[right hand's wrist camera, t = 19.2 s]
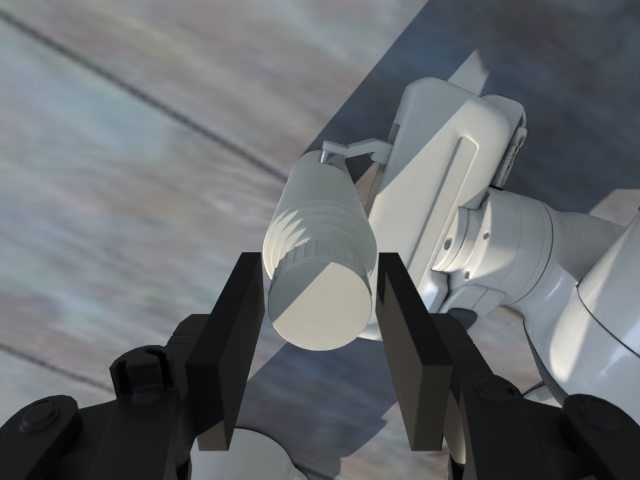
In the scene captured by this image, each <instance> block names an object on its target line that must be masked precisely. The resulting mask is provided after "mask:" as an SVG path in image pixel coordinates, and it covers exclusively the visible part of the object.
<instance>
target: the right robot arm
mask: <svg viewBox="0 0 640 480" xmlns="http://www.w3.org/2000/svg"><path fill="white" fill-rule="evenodd" d="M264 313H265V305H264V289H263V273H262V257H261V252H242V254H241V255H240V257H239V259H238V261H237V263H236V265H235V267H234V269H233V271H232V273H231V275H230V277H229V279H228V281H227V283H226V285H225V287H224V289H223V291H222V293H221V295H220V296H219V298H218V300H217V302H216V304H215V306H214V308H213V310H212V312H211V314H191V315H190V316H188V317H187V318H186V319H185V320H183V321H182V322H181V323H179V325H178V326H177V328H176V330H175V331H174V333H173V336H171V338H170V339H169V341H168V342H167V345H165V347H163V346H160V345H147V346H143V347H139V348H135V349H133V350H131V351H128V352H126V353H124V354H123V355H121V356H120V357H119V358H117V359H116V360H115V361H114V362H113V364H112V365H111V366H110V368H109V370H110V374H111V377H112V381H113V385H114V389H115V393H116V397H117V398H116V400H113V401H110V402H107V403H103V404H99V405H94V406H90V407H86V408H82V409H79V408H78V405H77V402H76V401H75V400H74V399H73V398H72V397H71V396H65V395H56V396H49V397H46V398H43V399H40V400H37V401H35V402H33V403H31V404H29V405H27V406H26V407H24V408H22V409H21V410H19V411H18V412H17V413H16V414H14V415H13V416H12V417H11V418H10V419H9V420H8V421H7V422H6V423H5V424H4V425H3V426H2V427H1V428H0V480H191V475H192V461H191V455H190V452H191V449H192V446H193V444H194V441H195V438H196V437H197V443H198V449H199V451H229V447H230V444H231V440H232V436H233V432H234V428H235V424H236V421H237V417H238V413H239V409H240V405H241V401H242V398H243V394H244V390H245V386H246V382H247V378H248V375H249V371H250V367H251V363H252V359H253V355H254V352H255V348H256V344H257V340H258V336H259V332H260V329H261V325H262V321H263V317H264ZM375 313H376V317H377V321H378V325H379V329H380V332H381V336H382V340H383V344H384V348H385V352H386V355H387V359H388V363H389V367H390V371H391V375H392V378H393V382H394V386H395V390H396V394H397V398H398V401H399V405H400V409H401V413H402V417H403V421H404V424H405V428H406V432H407V436H408V440H409V444H410V447H411V451H441V449H442V443H443V437H444V436H445V439H446V442H447V445H448V447H449V450H450V455H449V461H448V466H447V472H446V478H445V480H640V426H639V425H638V424H637V422H636V421H635V420H634V419H633V418H632V417H631V416H629V415H628V414H627V413H626V412H624V411H623V410H622V409H621V408H619V407H618V406H616V405H614V404H612V403H610V402H609V401H607V400H605V399H602V398H599V397H596V396H593V395H588V394H580V393H578V394H572V395H569V396H568V397H567V398H566V399H564V402H563V405H562V408H561V407H556V406H552V405H548V404H544V403H539V402H535V401H532V400H528V399H525V398H524V397H523V396H522V394H521V393H520V391H519V389H518V388H517V387H515V386H514V385H513V384H512V383H511V382H510V381H508V380H506V379H504V378H502V377H500V376H498V375H494V374H493V372H492V371H491V369H490V368H489V366H488V364H487V363H486V361H485V360H484V358H483V357H482V355H481V353H480V352H479V350H478V349H477V347H476V346H475V344H473V341H472V339H471V338H470V336H469V335H468V334H467V331H466V330H465V328H464V327H463V325H462V323H461V322H460V321H458V320H457V319H456V318H454V317H453V316H452V315H450V314H449V313H429V312H428V310H427V308H426V306H425V304H424V302H423V300H422V298H421V296H420V295H419V293H418V291H417V289H416V287H415V285H414V283H413V281H412V279H411V277H410V275H409V273H408V271H407V269H406V267H405V265H404V263H403V261H402V259H401V257H400V255H399V254H398V252H379V257H378V273H377V289H376V305H375Z"/></svg>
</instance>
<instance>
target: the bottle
mask: <svg viewBox="0 0 640 480" xmlns="http://www.w3.org/2000/svg"><path fill="white" fill-rule="evenodd" d="M320 153H321V150H315V151H311V152H308V153H306V154H304V155H303V156H302V157H300V158H299V159H298V161H297V162H296V163H295V165H294V167H293V169H292V171H291V174H290V176H289V179H288V181H287V184H286V186H285V189H284V191H283V194H282V196H281V199H280V201H279V204H278V206H277V209H276V211H275V214H274V216H273V219H272V221H271V224H270V226H269V229H268V231H267V234H266V236H265V240H264V245H263V258H264V264H265V267H266V270H267V272H268V274H269V276H270V278H271V279H272V277H273V273H274V270H275V268H277V266H278V263H279V260H280V259H282V258H283V257H284V256H285V253H286V252H289V251H290V250H292V249H293V248H294V247H295V246H299V245H301V244H303V243H304V242H305V243H307V242H312V241H314V240H316V241H325V240H327V241H329V242H333V243H335V242H336V243H337V244H339V245H341V246H344V247H345V246H346V247H347V249H349V250H350V251H351V252H352V253H353V252H354V253H355V256H356V257H357V258H358V259H359V260H361V262H362V266H363V268H365V269H366V273H367V276H368V280H369V278H370V276H371V275H372V273H373V270H374V268H375V264H376V260H377V244H376V239H375V236H374V233H373V231H372V228H371V226H370V223H369V221H368V218H367V216H366V213H365V211H364V208H363V206H362V203H361V201H360V198H359V196H358V193H357V191H356V188H355V186H354V183H353V181H352V178H351V176H350V173H349V171H348V168H347V166H346V164H345V163H344V165H343V168H342V169H341V168H337V167H335V166H333V165H332V164H323V163H321V162H319V157H320Z"/></svg>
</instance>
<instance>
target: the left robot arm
mask: <svg viewBox="0 0 640 480" xmlns="http://www.w3.org/2000/svg"><path fill="white" fill-rule="evenodd" d="M519 120H520V124H519V126H517V124H518V122H519ZM526 120H527V118H526V112H525V109H524V107H523V106H522V105H521V104H520V103H519V102H518V101H516V100H514V99H511V98H508V97H505V96H502V95H498V94H487V95H484V96H481V97H479V96H477V95H475V94H473V93H471V92H469V91H467V90H465V89H463V88H461V87H459V86H456V85H454V84H452V83H449V82H447V81H444V80H441V79H438V78H435V77H423V78H421V79H418V80H416V81H414V82H412V83H411V84H409V85H408V86H407V87H406V88H405V90H404V93H403V96H402V99H401V102H400V105H399V108H398V111H397V114H396V117H395V119H394V122H393V125H392V128H391V131H390V134H389V137H388V140H387V142H385V141H382V140H378V139H375V138H370V139H367V140H363V141H359V142H355V143H351V144H348V145H347V146H345V145H341V144H338V143H334V142H331V141H327V140H324V142H323V146H322V149H321V153H320V157H319V162H321V163H323V164H332V165H333V166H335V167H337V168H341V169H342V168H343V165H344V162H345V159H346V158H350V157H354V156H358V155H362V154H366V153H368V156H369V157H370V158H371V159H372V161H376V162H379V163H380V164H379V167H378V170H377V173H376V176H375V178H374V181H373V184H372V187H371V190H370V193H369V196H368V199H367V202H366V205H365V208H364V211H365V213H366V216H367V218H368V221H369V223H370V226H371V228H372V231H373V233H374V236H375V239H376V244H377V260H376V264H375V268H374V270H373V273H372V275H371V276H370V278H369V284H370V288H371V292H372V296H371V298H372V312H371V316H370V319H369V322H368V324H367V326H366V327H365V329H364V330H363V331H362V333H361V334H360V335H359V336H358V337H362V338H367V339H372V340H377V341H383V340H382V336H381V332H380V329H379V325H378V321H377V317H376V313H375V305H376V289H377V273H378V257H379V252H398V254H399V255H400V257H401V259H402V261H403V263H404V265H405V267H406V269H407V271H408V273H409V275H410V277H411V279H412V281H413V283H414V285H415V287H416V289H417V291H418V293H419V295H420V296H421V298H422V300H423V302H424V304H425V306H426V308H427V310H428V312H429V313H449V314H450V315H452V316H453V317H454V318H456V319H457V320H458V321H460V322H461V323H462V325H463V327H464V328H465V330H466V331H467V333H468V332H469V331H470V330H471V329H472V328H473V327H474V326H475V325H476V324H477V323H478V322H479V321H480V320H481V319H483V318H484V317H485V316H486V315H487V314H488V313H490V312H491V311H492V310H494V309H495V308H496V307H497V306H499V305H506V306H513V307H516V308H517V309H519V310H520V311H521V312H522V313H523V314H524V316H525V319H524V321H523V325H524V330H525V334H526V337H527V340H528V343H529V346H530V348H531V351H532V353H533V356H534V359H535V362H536V365H537V368H538V370H539V373H540V375H541V377H542V379H543V381H544V383H545V384H546V386H547V388H548V389H549V391H550V392H551V394H552V395H553V397H554V398H555V399H556V401H557V402H558V403H559V404H560V405H561V406H562V405H563V402H564V399H566V398H567V397H568V396H569V395H572V394H578V393H580V394H588V395H593V396H596V397H599V398H602V399H605V400H607V401H609V402H610V403H612V404H614V405H616V406H618V407H619V408H621V409H622V410H623V411H624V412H626V413H627V414H628V415H629V416H631V417H632V418H633V419H634V420H635V421H636V422H637V424H638V425H639V426H640V212H639V213H638V214H637V215H636V216H635V218H634V219H633V220H632V221H631V222H630V224H629V225H628V226H627V227H624V226H621V225H618V224H616V223H613V222H610V221H607V220H604V219H601V218H598V217H594V216H591V215H588V214H584V213H578V212H559V211H556V210H554V209H553V208H551V207H550V206H549V205H547V204H545V203H543V202H541V201H539V200H536V199H533V198H530V197H526V196H523V195H519V194H516V193H512V192H509V191H506V190H504V189H503V187H504V185H505V183H506V181H507V179H508V177H509V174H510V172H511V170H512V168H513V165H514V161H515V159H516V158H515V157H516V156H517V153H518V152H519V150H520V148H522V146H523V144H524V143H525V140H526V138H527V135H528V129H527V128H525V126H526ZM638 210H639V211H640V207H639V208H638ZM190 455H191V461H192V475H191V480H307V477H306V476H305V475H304V474H303V473H302V472H300V471H299V470H298V469H296V468H295V467H294V465H293V464H292V462H291V460H290V458H289V456H288V454H287V453H286V451H285V450H284V449H283V448H282V447H281V446H280V445H279V444H278V443H276V442H275V441H274V440H272V439H271V438H269V437H267V436H265V435H263V434H260V433H257V432H254V431H250V430H245V429H237V428H234V432H233V436H232V440H231V444H230V447H229V451H199V449H198V443H197V438H195V441H194V444H193V446H192V449H191V452H190Z"/></svg>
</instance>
